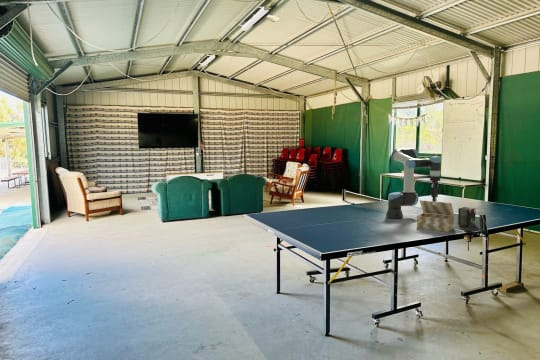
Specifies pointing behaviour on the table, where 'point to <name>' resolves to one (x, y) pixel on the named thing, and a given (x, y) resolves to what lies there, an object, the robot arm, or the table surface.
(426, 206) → the flap
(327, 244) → the table surface
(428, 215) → the open wooden box
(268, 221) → the table surface
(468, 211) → the tampon box
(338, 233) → the table surface
